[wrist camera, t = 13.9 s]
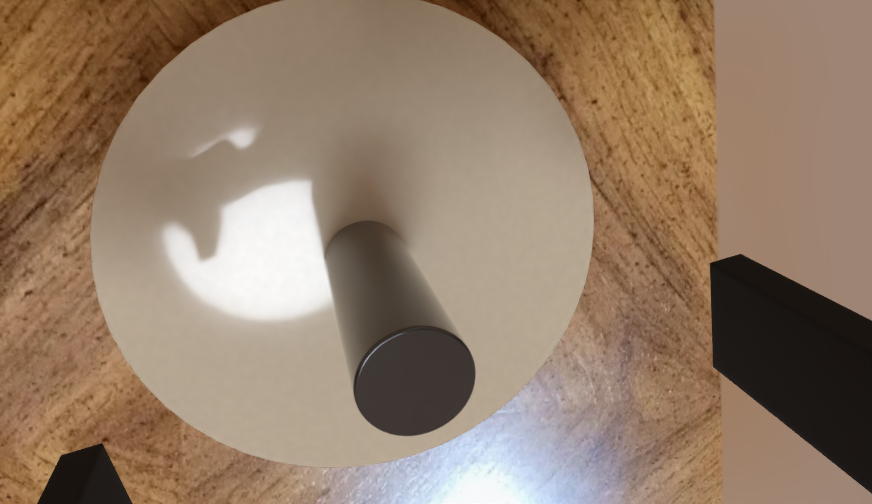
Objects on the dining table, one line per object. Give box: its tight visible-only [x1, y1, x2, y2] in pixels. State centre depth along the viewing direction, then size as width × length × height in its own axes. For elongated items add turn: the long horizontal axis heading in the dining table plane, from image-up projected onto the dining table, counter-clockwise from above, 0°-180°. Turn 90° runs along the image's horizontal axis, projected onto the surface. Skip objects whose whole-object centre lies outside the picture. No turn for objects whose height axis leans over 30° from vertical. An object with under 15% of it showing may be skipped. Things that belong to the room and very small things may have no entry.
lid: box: [90, 0, 594, 468], centre depth 18 cm, size 17×17×9 cm
